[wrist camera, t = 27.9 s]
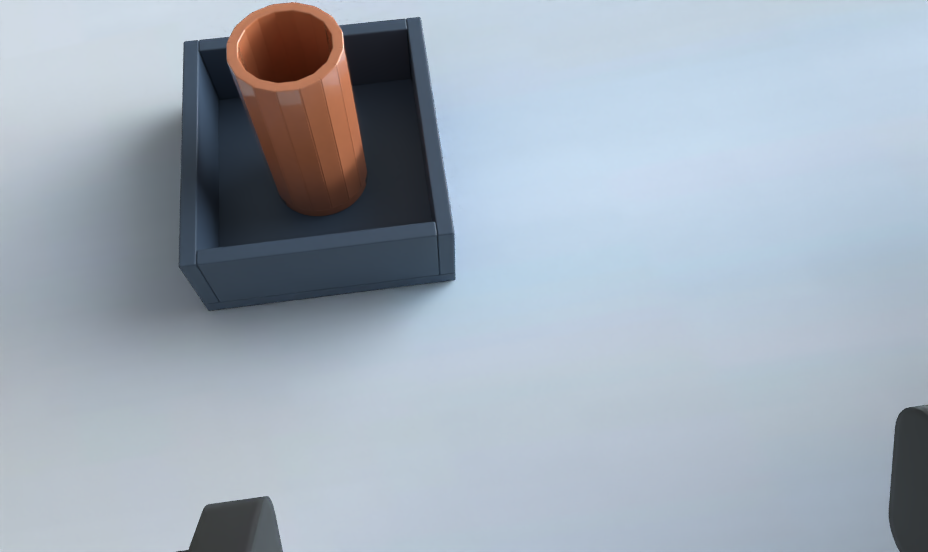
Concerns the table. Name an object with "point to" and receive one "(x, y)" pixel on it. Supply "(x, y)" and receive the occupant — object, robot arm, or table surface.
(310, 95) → the cup
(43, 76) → the table surface
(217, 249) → the bin
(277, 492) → the table surface
